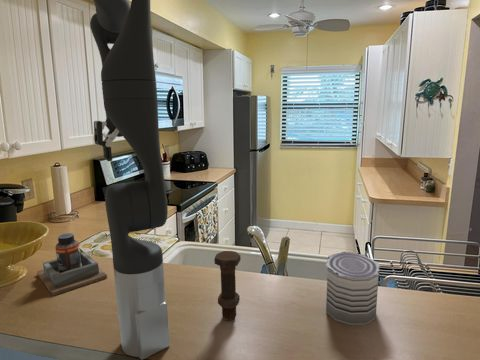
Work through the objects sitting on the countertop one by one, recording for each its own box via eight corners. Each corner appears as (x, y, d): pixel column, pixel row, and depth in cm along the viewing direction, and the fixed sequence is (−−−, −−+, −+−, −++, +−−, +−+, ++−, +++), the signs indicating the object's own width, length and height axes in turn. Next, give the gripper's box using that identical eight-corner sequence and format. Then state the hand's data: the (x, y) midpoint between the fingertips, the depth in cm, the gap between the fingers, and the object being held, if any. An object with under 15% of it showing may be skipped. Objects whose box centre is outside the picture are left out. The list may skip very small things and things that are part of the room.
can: (374, 301, 86) (377, 254, 84) (379, 329, 76) (382, 277, 73) (325, 295, 89) (327, 250, 87) (323, 321, 79) (325, 271, 76)
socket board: (107, 277, 101) (105, 264, 100) (52, 295, 92) (50, 281, 91) (87, 260, 112) (86, 248, 112) (37, 274, 103) (35, 261, 103)
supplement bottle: (86, 268, 104) (82, 231, 102) (75, 278, 98) (70, 239, 96) (67, 268, 105) (62, 231, 102) (54, 277, 99) (49, 239, 97)
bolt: (219, 326, 78) (216, 261, 75) (214, 313, 83) (212, 252, 79) (244, 321, 79) (243, 258, 76) (238, 309, 84) (237, 249, 81)
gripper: (97, 96, 85) (104, 164, 89) (151, 96, 94) (156, 157, 98) (86, 97, 91) (93, 160, 94) (138, 97, 100) (143, 155, 103)
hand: (125, 159), depth 96 cm, fingers open, 8 cm apart
